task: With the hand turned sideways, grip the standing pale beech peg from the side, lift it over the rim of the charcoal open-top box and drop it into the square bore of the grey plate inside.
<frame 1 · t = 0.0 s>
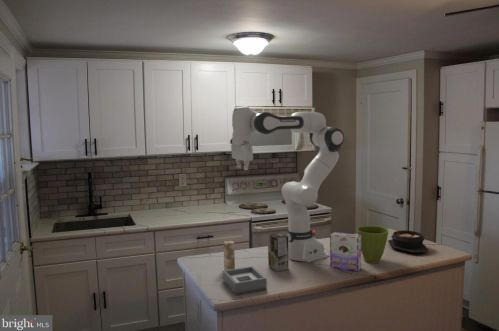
hand: (242, 169, 199), 48 cm above the counter, tool pointing down, fingers open, 8 cm apart
coffee box: (278, 268, 200), on the counter
candy box: (345, 268, 197), on the counter
flower pot: (372, 261, 207), on the counter
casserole: (407, 249, 225), on the counter
peg: (229, 270, 197), on the counter
box: (244, 285, 178), on the counter
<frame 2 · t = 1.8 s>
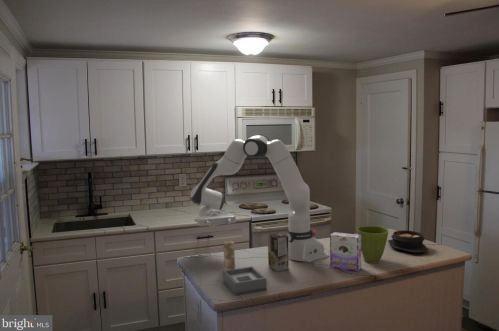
hand: (220, 223, 206), 20 cm above the counter, tool horizontal, fingers open, 8 cm apart
nothing on the counter moved.
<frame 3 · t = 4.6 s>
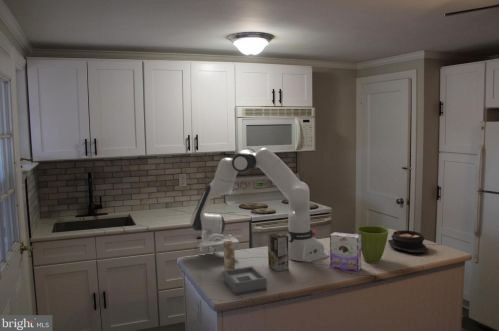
hand: (223, 249, 204), 8 cm above the counter, tool horizontal, fingers open, 8 cm apart
nothing on the counter moved.
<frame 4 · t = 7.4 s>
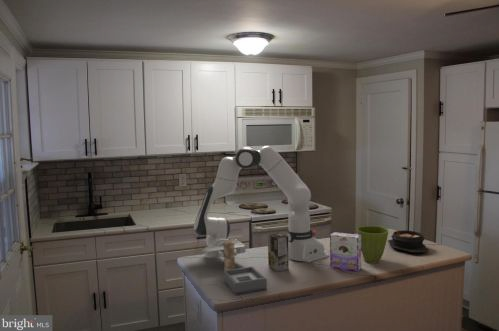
hand: (229, 254, 195), 8 cm above the counter, tool horizontal, fingers closed on peg, 4 cm apart
peg: (229, 270, 197), on the counter, touching gripper
everything else where it was.
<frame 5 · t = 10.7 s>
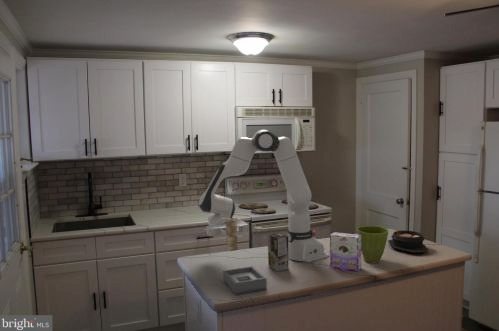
hand: (232, 232, 190), 20 cm above the counter, tool horizontal, fingers closed on peg, 4 cm apart
peg: (232, 249, 191), point 12 cm above the counter, touching gripper
everything else where it was.
when the fingers open (12 cm above the counter, at t = 14.3 s): peg drops 3 cm, resting on box.
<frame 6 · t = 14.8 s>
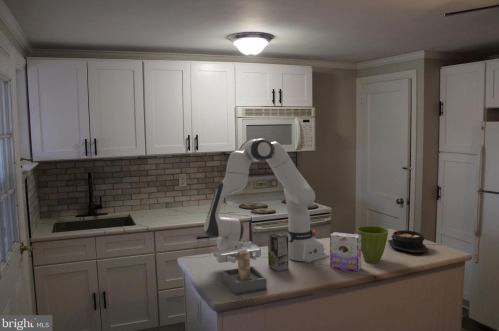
hand: (244, 259, 176), 12 cm above the counter, tool horizontal, fingers open, 8 cm apart
peg: (244, 283, 178), point 1 cm above the counter, touching box
everything else where it was.
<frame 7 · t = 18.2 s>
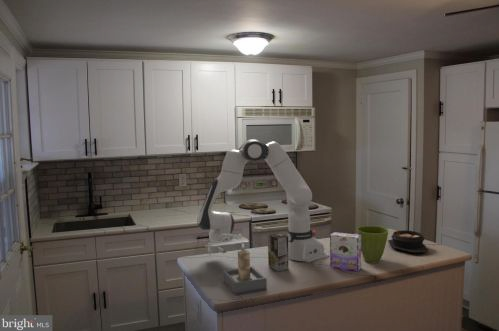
hand: (233, 250, 189), 12 cm above the counter, tool horizontal, fingers open, 8 cm apart
nothing on the counter moved.
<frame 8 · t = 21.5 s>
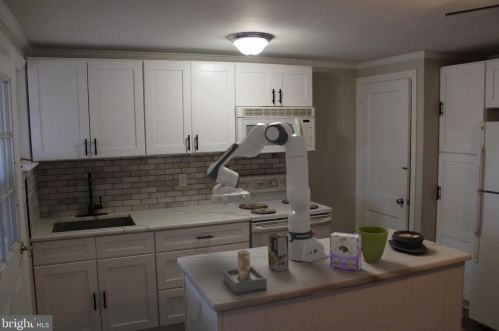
hand: (235, 199, 207), 32 cm above the counter, tool horizontal, fingers open, 8 cm apart
nothing on the counter moved.
at the end: peg 0.0 cm off-centre on the box, point 1.0 cm above the box's base; peg tilted 0°; the gripper is holding nothing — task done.
